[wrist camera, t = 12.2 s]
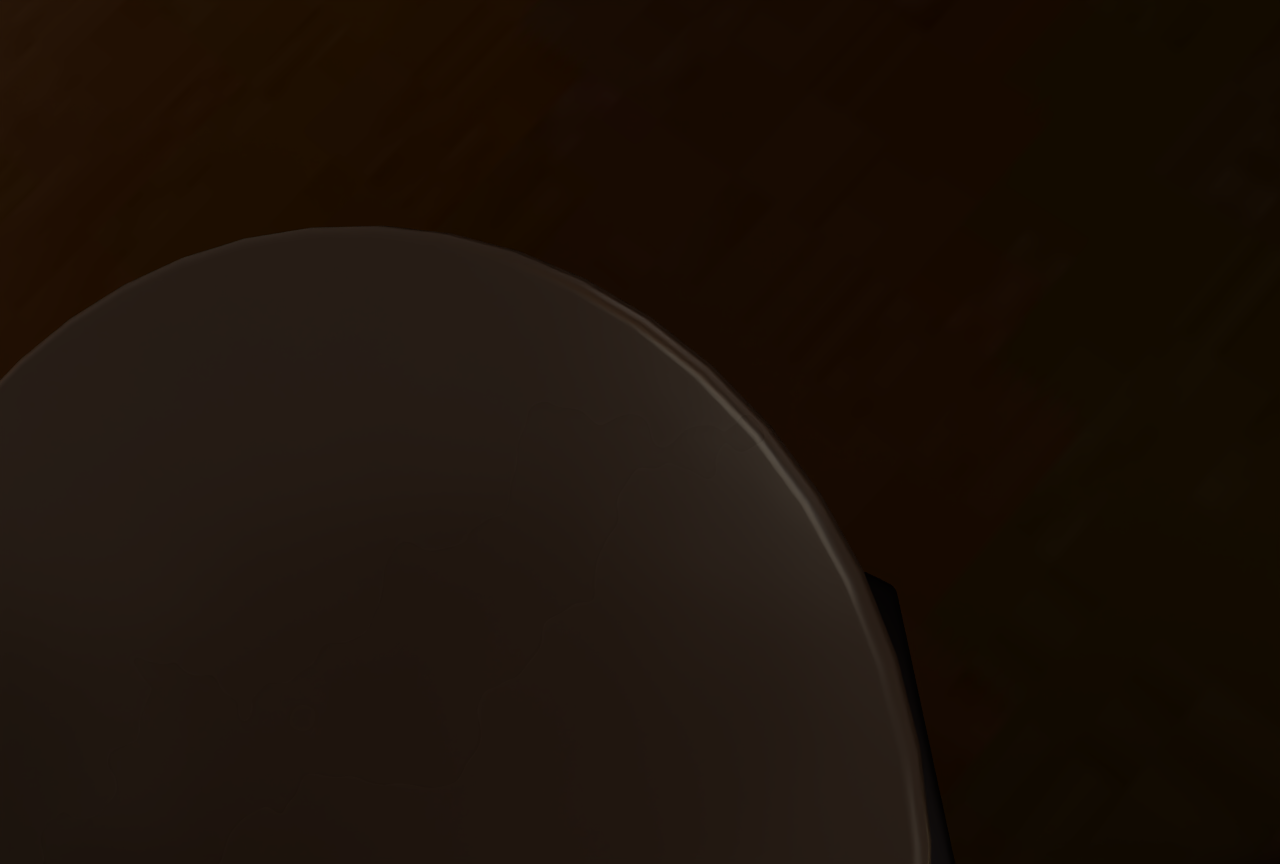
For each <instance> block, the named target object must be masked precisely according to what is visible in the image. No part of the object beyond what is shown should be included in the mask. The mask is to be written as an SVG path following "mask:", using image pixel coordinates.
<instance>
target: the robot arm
mask: <svg viewBox="0 0 1280 864" xmlns="http://www.w3.org/2000/svg"><path fill="white" fill-rule="evenodd" d="M864 573H865V576H866V579H867V581H868V584H869V586H870V589H871V591H872V594H873V596H874V599H875V601H876V604H877V606H878V609H879V611H880V614H881V616H882V619H883V622H884V624H885V627H886V629H887V632H888V634H889V637H890V639H891V642H892V644H893V647H894V649H895V652H896V654H897V657H898V661H899V665H900V669H901V673H902V677H903V681H904V685H905V689H906V693H907V697H908V701H909V705H910V709H911V713H912V717H913V720H914V724H915V728H916V732H917V736H918V740H919V744H920V750H921V758H922V767H923V775H924V783H925V792H926V800H927V808H928V817H929V825H930V834H931V864H955V861H954V856H953V852H952V847H951V842H950V838H949V833H948V828H947V824H946V819H945V814H944V810H943V805H942V801H941V796H940V791H939V787H938V782H937V777H936V773H935V768H934V763H933V759H932V754H931V749H930V745H929V740H928V735H927V731H926V726H925V721H924V717H923V712H922V708H921V703H920V698H919V694H918V689H917V684H916V680H915V675H914V670H913V666H912V661H911V656H910V652H909V647H908V642H907V638H906V633H905V628H904V624H903V619H902V615H901V610H900V605H899V601H898V596H897V592H896V590H895V588H894V587H893V586H892V585H891V584H889V583H887V582H885V581H883V580H881V579H879V578H877V577H875V576H873V575H871V574H869V573H866V572H864Z"/></svg>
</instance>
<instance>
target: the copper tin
mask: <svg viewBox="0 0 1280 864" xmlns="http://www.w3.org/2000/svg"><path fill="white" fill-rule="evenodd" d="M0 864H931V834H930V825H929V817H928V808H927V800H926V792H925V783H924V775H923V767H922V758H921V750H920V744H919V740H918V736H917V732H916V728H915V724H914V720H913V717H912V713H911V709H910V705H909V701H908V697H907V693H906V689H905V685H904V681H903V677H902V673H901V669H900V665H899V661H898V657H897V654H896V652H895V649H894V647H893V644H892V642H891V639H890V637H889V634H888V632H887V629H886V627H885V624H884V622H883V619H882V616H881V614H880V611H879V609H878V606H877V604H876V601H875V599H874V596H873V594H872V591H871V589H870V586H869V584H868V581H867V579H866V576H865V573H864V571H863V569H862V567H861V566H860V564H859V562H858V560H857V558H856V557H855V555H854V553H853V551H852V549H851V548H850V546H849V544H848V542H847V540H846V539H845V537H844V535H843V533H842V531H841V530H840V528H839V526H838V524H837V522H836V521H835V519H834V517H833V515H832V513H831V511H830V510H829V508H828V506H827V504H826V502H825V501H824V499H823V497H822V495H821V494H820V492H819V491H818V490H817V488H816V487H815V485H814V484H813V483H812V481H811V480H810V479H809V477H808V476H807V475H806V473H805V472H804V471H803V469H802V468H801V467H800V465H799V464H798V462H797V461H796V460H795V458H794V457H793V456H792V454H791V453H790V452H789V450H788V449H787V448H786V446H785V445H784V443H783V442H782V441H781V439H780V438H779V437H778V435H777V434H776V433H775V431H774V430H773V429H772V427H771V426H770V425H769V424H768V423H767V422H766V421H765V420H764V419H763V417H762V416H761V415H760V414H759V413H758V412H757V411H756V410H755V409H754V408H753V407H752V406H751V405H750V404H749V403H748V402H747V401H746V400H745V399H744V398H743V397H742V396H741V395H740V394H739V393H738V392H737V391H736V389H735V388H734V387H733V386H732V385H731V384H730V383H729V382H728V381H727V380H726V379H725V378H724V377H723V376H722V375H721V374H720V373H719V372H718V371H717V370H716V369H715V368H714V367H713V366H712V365H711V364H710V363H708V362H707V361H706V360H704V359H703V358H702V357H701V356H699V355H698V354H697V353H696V352H694V351H693V350H692V349H691V348H689V347H688V346H687V345H686V344H684V343H683V342H682V341H680V340H679V339H678V338H677V337H675V336H674V335H673V334H672V333H670V332H669V331H668V330H667V329H665V328H664V327H663V326H662V325H660V324H659V323H658V322H656V321H655V320H654V319H653V318H651V317H650V316H648V315H646V314H645V313H643V312H641V311H639V310H638V309H636V308H634V307H633V306H631V305H629V304H628V303H626V302H624V301H623V300H621V299H619V298H617V297H616V296H614V295H612V294H611V293H609V292H607V291H606V290H604V289H602V288H601V287H599V286H597V285H595V284H594V283H592V282H590V281H589V280H587V279H585V278H582V277H580V276H578V275H575V274H573V273H570V272H568V271H566V270H563V269H561V268H558V267H556V266H554V265H551V264H549V263H546V262H544V261H542V260H539V259H537V258H534V257H532V256H530V255H527V254H525V253H522V252H520V251H516V250H513V249H509V248H505V247H501V246H497V245H493V244H490V243H486V242H482V241H478V240H474V239H470V238H467V237H463V236H459V235H455V234H451V233H442V232H433V231H425V230H416V229H407V228H399V227H390V226H357V227H318V228H307V229H301V230H295V231H289V232H283V233H277V234H270V235H264V236H258V237H252V238H246V239H242V240H239V241H236V242H232V243H229V244H226V245H223V246H220V247H216V248H213V249H210V250H207V251H203V252H200V253H197V254H194V255H190V256H187V257H184V258H181V259H179V260H177V261H175V262H173V263H171V264H168V265H166V266H164V267H162V268H160V269H158V270H155V271H153V272H151V273H149V274H147V275H145V276H142V277H140V278H138V279H136V280H134V281H132V282H129V283H127V284H125V285H123V286H122V287H120V288H118V289H117V290H115V291H114V292H112V293H111V294H109V295H107V296H106V297H104V298H103V299H101V300H99V301H98V302H96V303H95V304H93V305H91V306H90V307H88V308H87V309H85V310H84V311H82V312H80V313H79V314H77V315H76V316H74V317H72V318H71V319H69V320H68V321H67V322H66V323H64V324H63V325H62V326H61V327H60V328H58V329H57V330H56V331H55V332H53V333H52V334H51V335H50V336H49V337H47V338H46V339H45V340H44V341H42V342H41V343H40V344H39V345H38V346H36V347H35V348H34V349H33V350H31V351H30V352H29V353H28V354H27V355H25V356H24V357H23V358H22V359H20V360H19V361H18V362H17V363H16V364H15V365H14V367H13V368H12V369H11V370H10V371H9V372H8V373H7V374H6V375H5V376H4V377H3V378H2V379H1V380H0Z"/></svg>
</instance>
